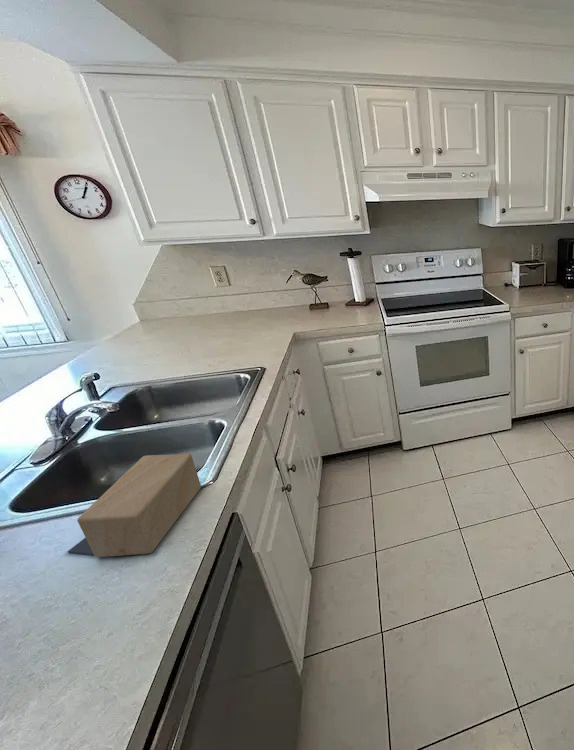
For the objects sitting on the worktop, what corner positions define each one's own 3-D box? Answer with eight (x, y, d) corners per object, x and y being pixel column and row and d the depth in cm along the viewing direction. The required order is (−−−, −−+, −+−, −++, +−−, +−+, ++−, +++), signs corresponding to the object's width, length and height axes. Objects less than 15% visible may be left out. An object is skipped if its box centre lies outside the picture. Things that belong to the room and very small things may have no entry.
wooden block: (151, 554, 81) (202, 487, 99) (136, 515, 77) (191, 452, 95) (94, 558, 80) (156, 489, 97) (74, 519, 75) (143, 454, 93)
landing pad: (68, 553, 82) (67, 551, 82) (107, 523, 89) (106, 521, 89) (108, 556, 81) (106, 555, 81) (144, 526, 88) (143, 524, 88)
